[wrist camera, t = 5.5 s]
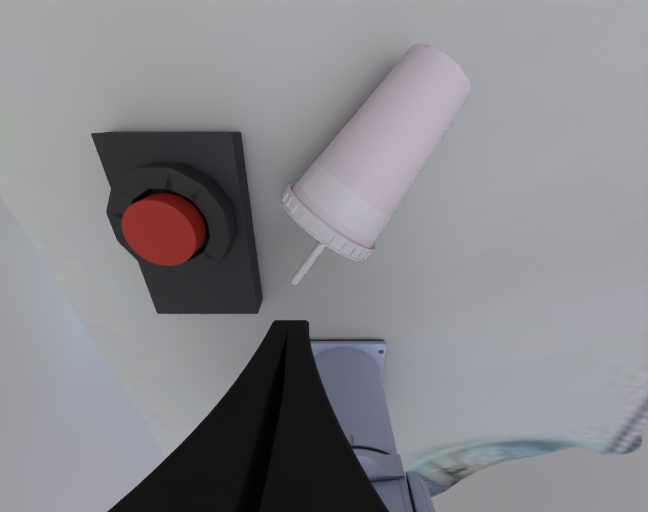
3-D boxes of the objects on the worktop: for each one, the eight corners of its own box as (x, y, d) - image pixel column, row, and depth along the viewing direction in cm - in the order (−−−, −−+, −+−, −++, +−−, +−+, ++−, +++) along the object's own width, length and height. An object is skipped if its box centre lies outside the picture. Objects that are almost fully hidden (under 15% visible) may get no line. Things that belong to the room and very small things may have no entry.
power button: (212, 254, 17) (202, 266, 16) (149, 254, 17) (134, 266, 16) (198, 192, 15) (186, 199, 14) (128, 192, 15) (109, 199, 14)
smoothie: (431, 107, 17) (310, 266, 22) (367, 24, 14) (236, 236, 18) (518, 126, 13) (339, 326, 17) (453, 8, 9) (246, 302, 13)
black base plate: (262, 300, 23) (253, 329, 20) (168, 300, 23) (144, 329, 20) (240, 131, 17) (221, 135, 14) (112, 131, 17) (64, 135, 14)
